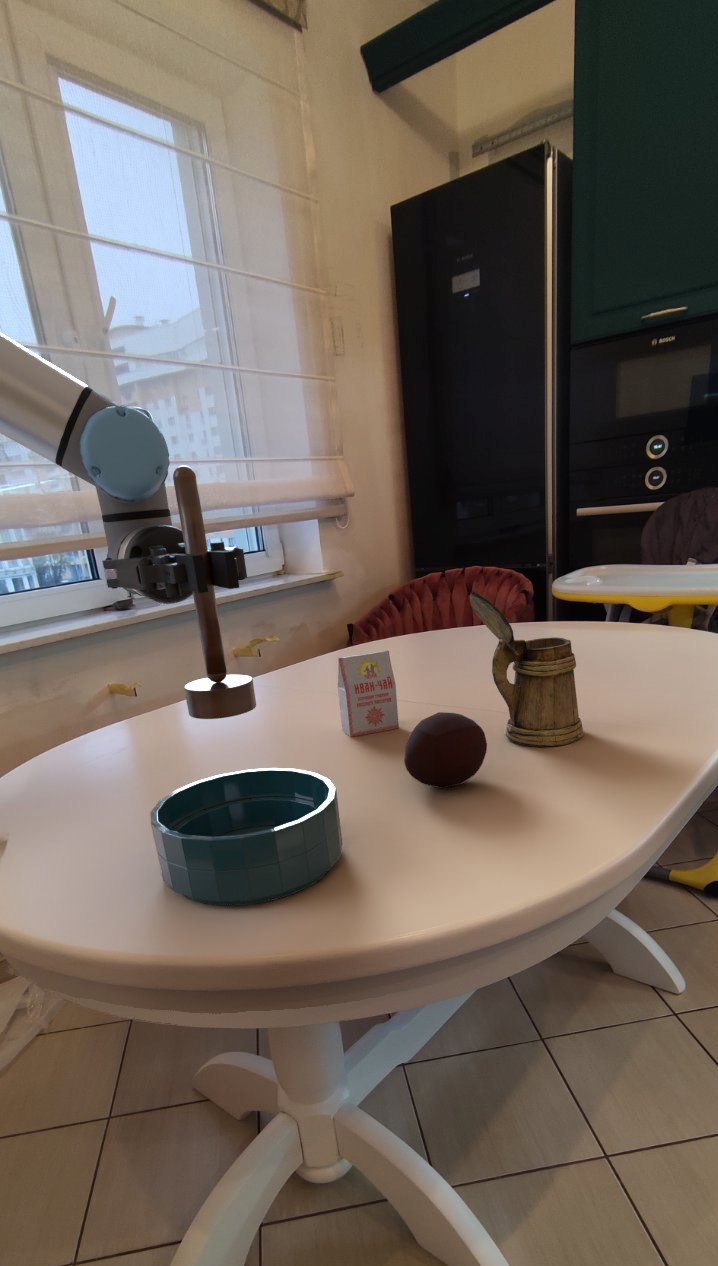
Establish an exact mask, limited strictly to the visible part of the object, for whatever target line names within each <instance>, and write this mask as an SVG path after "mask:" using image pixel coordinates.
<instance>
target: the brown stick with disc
mask: <svg viewBox="0 0 718 1266" xmlns="http://www.w3.org/2000/svg"><path fill="white" fill-rule="evenodd" d="M172 480H173V486H174V491H175V498H176V503H177V504H176V505H177V510H178V516H179V522H180V528H181V530H182V533H183V539H184V545H185V551H186V554H195V555H202V556H203V562H204V568H205V574H206V580H207V587H208V592H203V593H196V592H193V591H192V592H193V594H192V598H193V604H194V608H195V616H196V620H197V627H198V632H199V639H200V643H201V650H202V655H203V656H202V657H203V661H204V667H205V672H206V677H205V678H200V679H199V678H198V679H196V680H193V681H191V682H188V683H187V684H185V685H184V687H183V689H184V694H185V699H186V701H185V702H186V705H187V711H188V716H190V717H191V718H192V719H198V720H218V719H226V718H232V717H236V716H237V717H238V716H240V715H243V714H244V715H245V714H247V713H249V712H251V711H253V710H254V709H256V707H257V700H256V692H255V685H254V679H253V677H252V676H250V675H246V674H228V668H227V662H226V654H225V649H224V648H225V647H224V643H223V636H222V631H221V624H220V618H219V611H218V606H217V599H216V592H215V586H213V580H212V573H211V567H210V561H209V555H208V550H209V549H208V543H207V536H206V531H205V525H204V518H203V512H202V505H201V499H200V491H199V486H198V481H197V475H196V473H195V471H194V470H193V469H192V468H191V467H190V466H189V465H180V466H178V467H176V468H175V470H174V471H173V473H172Z"/></svg>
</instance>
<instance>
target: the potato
mask: <svg viewBox="0 0 718 1266" xmlns="http://www.w3.org/2000/svg"><path fill="white" fill-rule="evenodd" d="M487 749H488V742H487V739H486V735H485V732H484V730H483V729H482V726H480V725H479V724H478V723H477V722H476V721H475V720H473V719H471V718H469V717H468V716H466V715H463V714H460V713H456V712H444V711H443V712H442V711H441V712H440V711H439V712H437V713H436V712H435V713H434V714H432V715H430V716H427V717H425V718H424V719H421V720H420V721H419V722H418V724H416V726H415V727H414V728H413V730H412V731H411V732H410V734H409V735H408V738H407V741H406V744H405V747H404V760H403V762H404V766H405V769H406V771H407V772H408V774H409V775H410V776H411V778H413V779H415V780H416V781H418V782H419V783H421V784H423V785H426V786H431V787H434V788H435V787H436V788H441V789H443V788H450V787H453V786H458V785H461V784H463V783H464V782H467V781H468V780H469V779H471V778H472V777H474V776H475V775H476V774H477V772H479V770H480V769H481V767H482V765H483V764H484V761H485V758H486V754H487V751H488V750H487Z"/></svg>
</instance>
